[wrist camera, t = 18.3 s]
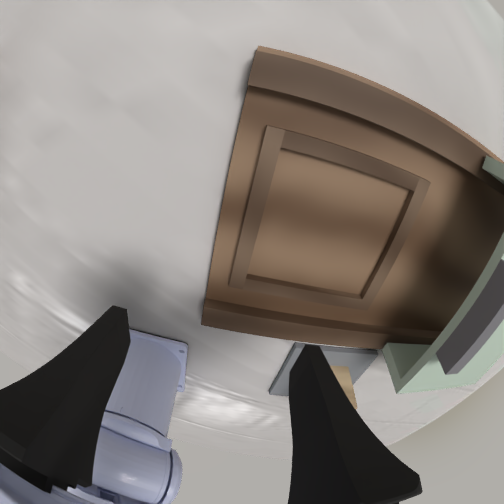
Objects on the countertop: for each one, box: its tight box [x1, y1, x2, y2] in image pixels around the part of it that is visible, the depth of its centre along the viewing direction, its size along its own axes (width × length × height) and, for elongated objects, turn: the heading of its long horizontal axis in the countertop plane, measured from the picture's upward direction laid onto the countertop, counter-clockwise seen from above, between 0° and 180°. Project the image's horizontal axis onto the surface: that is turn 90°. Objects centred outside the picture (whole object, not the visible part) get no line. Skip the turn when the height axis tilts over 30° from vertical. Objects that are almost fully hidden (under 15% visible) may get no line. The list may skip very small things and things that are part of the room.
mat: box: [269, 343, 378, 396], centre depth 27 cm, size 9×9×1 cm
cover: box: [382, 156, 504, 394], centre depth 15 cm, size 18×12×7 cm, turn 167°
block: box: [330, 366, 357, 410], centre depth 24 cm, size 4×4×5 cm
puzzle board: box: [201, 46, 504, 349], centre depth 18 cm, size 20×30×2 cm, turn 77°
